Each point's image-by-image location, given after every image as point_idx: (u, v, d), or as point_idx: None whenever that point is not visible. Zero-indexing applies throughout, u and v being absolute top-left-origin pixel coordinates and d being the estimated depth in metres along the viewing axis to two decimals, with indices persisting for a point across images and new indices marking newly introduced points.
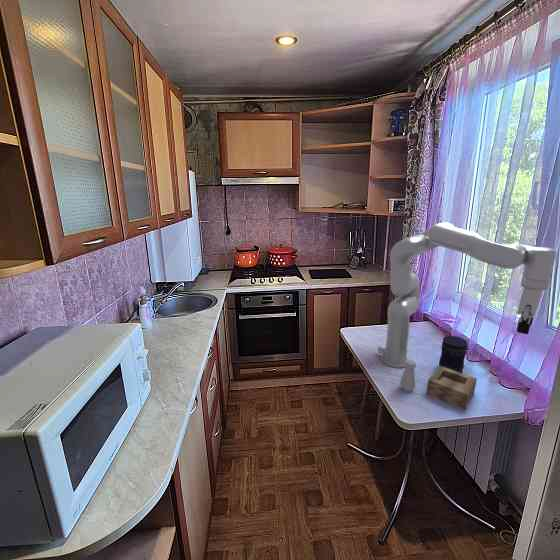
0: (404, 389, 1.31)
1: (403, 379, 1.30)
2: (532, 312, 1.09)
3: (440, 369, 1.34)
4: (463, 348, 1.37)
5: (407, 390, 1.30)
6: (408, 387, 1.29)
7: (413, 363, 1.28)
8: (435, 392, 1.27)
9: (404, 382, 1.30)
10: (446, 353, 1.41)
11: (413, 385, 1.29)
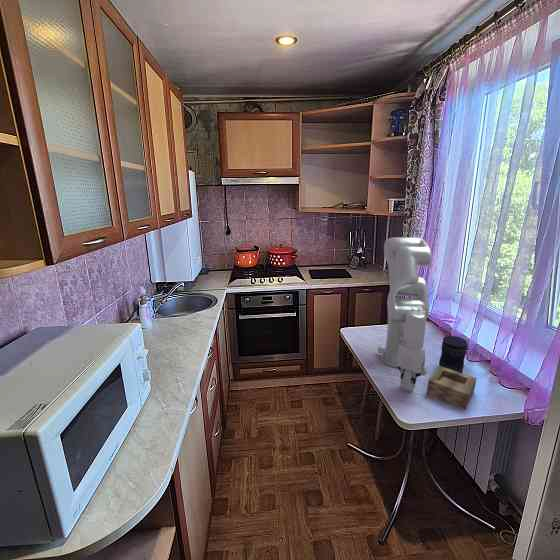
0: (404, 389, 1.31)
1: (403, 379, 1.30)
2: None
3: (440, 370, 1.34)
4: (463, 348, 1.37)
5: (407, 390, 1.30)
6: (408, 387, 1.29)
7: None
8: (436, 393, 1.26)
9: (404, 382, 1.30)
10: (446, 353, 1.41)
11: (413, 385, 1.29)
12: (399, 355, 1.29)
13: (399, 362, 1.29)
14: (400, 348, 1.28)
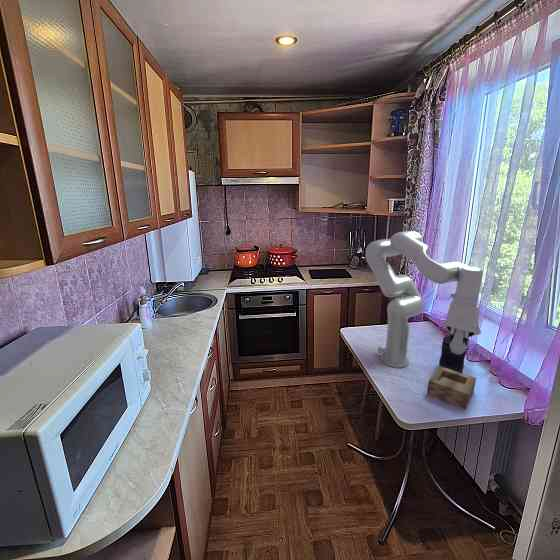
0: (455, 351, 1.22)
1: (454, 340, 1.22)
2: None
3: (439, 370, 1.34)
4: None
5: (458, 352, 1.22)
6: (459, 348, 1.21)
7: None
8: (436, 393, 1.26)
9: (454, 343, 1.22)
10: (446, 353, 1.41)
11: (465, 346, 1.21)
12: (450, 314, 1.20)
13: (450, 322, 1.21)
14: (452, 306, 1.20)
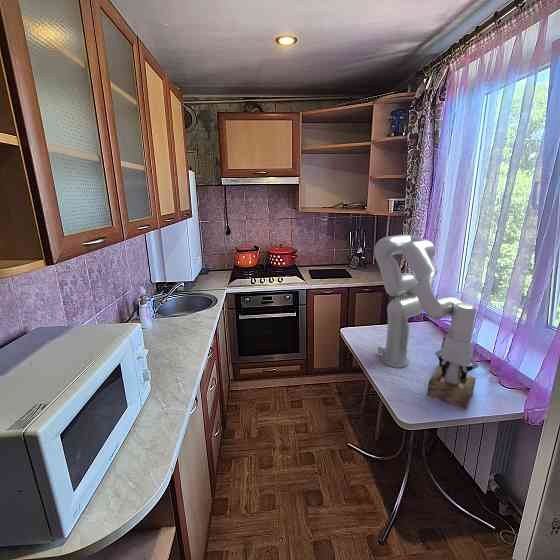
0: None
1: (448, 374, 1.26)
2: None
3: (439, 370, 1.34)
4: None
5: None
6: (454, 382, 1.25)
7: None
8: (436, 393, 1.26)
9: (449, 377, 1.26)
10: None
11: (459, 380, 1.25)
12: (445, 348, 1.24)
13: (445, 355, 1.25)
14: (446, 341, 1.24)
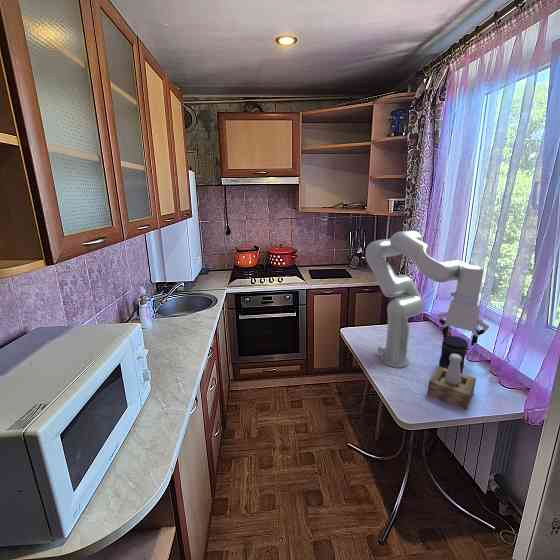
0: (450, 384, 1.27)
1: (448, 374, 1.26)
2: (478, 323, 1.19)
3: (439, 370, 1.34)
4: (463, 348, 1.37)
5: (453, 385, 1.26)
6: (454, 382, 1.25)
7: (459, 357, 1.24)
8: (436, 394, 1.26)
9: (449, 377, 1.26)
10: (446, 353, 1.41)
11: (459, 380, 1.25)
12: (450, 312, 1.20)
13: (450, 320, 1.21)
14: (452, 305, 1.20)
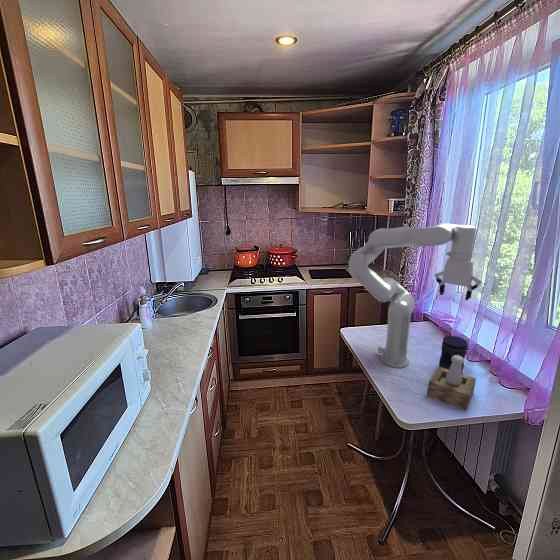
0: None
1: (449, 375, 1.26)
2: (471, 279, 1.29)
3: (439, 370, 1.34)
4: (463, 348, 1.37)
5: None
6: (454, 383, 1.25)
7: (461, 359, 1.23)
8: (436, 394, 1.26)
9: (450, 377, 1.26)
10: (446, 353, 1.41)
11: (460, 381, 1.25)
12: (446, 270, 1.30)
13: (446, 277, 1.31)
14: (448, 263, 1.30)
